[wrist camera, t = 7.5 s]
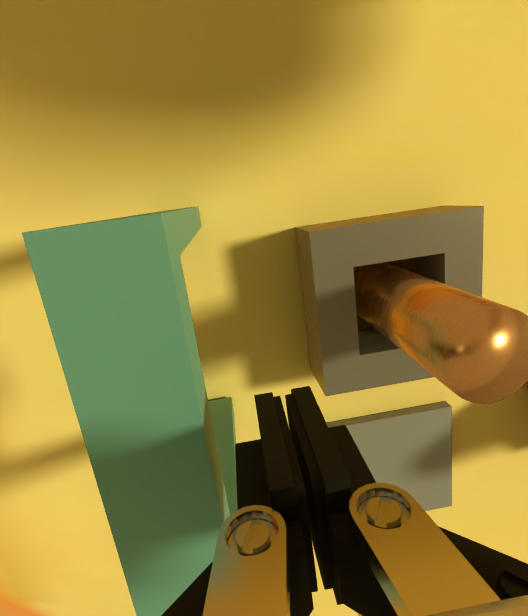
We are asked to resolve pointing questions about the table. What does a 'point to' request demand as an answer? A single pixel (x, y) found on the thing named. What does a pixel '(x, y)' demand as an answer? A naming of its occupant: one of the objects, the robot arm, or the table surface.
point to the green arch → (141, 393)
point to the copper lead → (447, 331)
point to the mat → (409, 450)
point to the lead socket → (370, 250)
